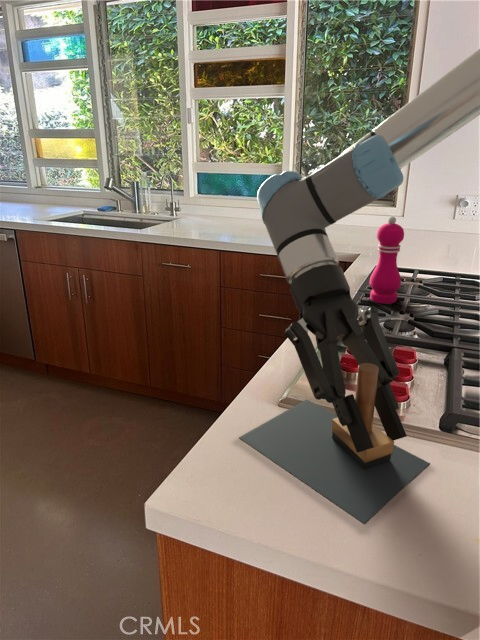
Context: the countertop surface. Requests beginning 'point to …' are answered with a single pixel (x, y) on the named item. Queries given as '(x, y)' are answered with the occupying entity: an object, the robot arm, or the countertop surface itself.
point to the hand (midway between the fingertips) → (381, 444)
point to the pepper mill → (387, 264)
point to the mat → (331, 461)
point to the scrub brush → (365, 422)
